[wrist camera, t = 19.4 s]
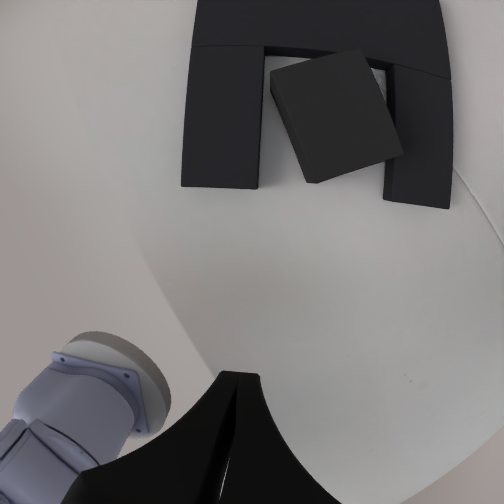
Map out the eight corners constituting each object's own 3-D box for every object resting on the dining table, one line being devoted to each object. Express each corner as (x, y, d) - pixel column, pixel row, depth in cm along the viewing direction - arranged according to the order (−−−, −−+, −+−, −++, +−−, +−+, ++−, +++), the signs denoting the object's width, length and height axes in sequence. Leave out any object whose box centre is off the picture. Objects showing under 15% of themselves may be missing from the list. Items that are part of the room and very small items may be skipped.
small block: (381, 158, 17) (405, 154, 14) (306, 183, 18) (315, 184, 14) (345, 68, 16) (361, 47, 12) (269, 90, 17) (269, 71, 13)
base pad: (438, 207, 17) (449, 209, 16) (187, 185, 18) (180, 186, 17) (429, -1, 14) (437, -9, 12) (208, -30, 14) (204, -41, 13)
